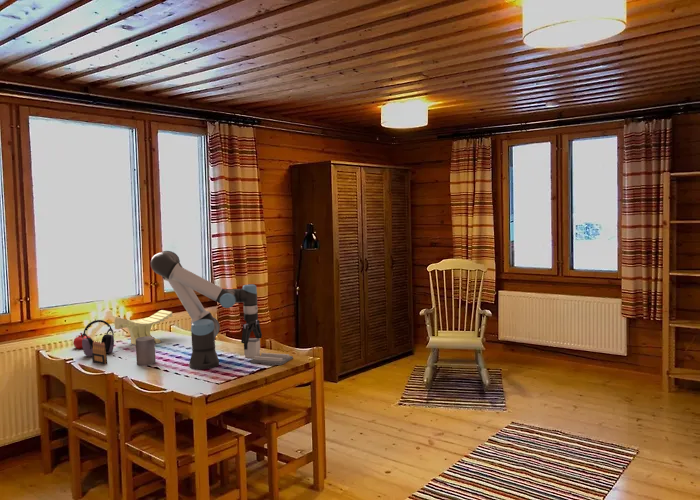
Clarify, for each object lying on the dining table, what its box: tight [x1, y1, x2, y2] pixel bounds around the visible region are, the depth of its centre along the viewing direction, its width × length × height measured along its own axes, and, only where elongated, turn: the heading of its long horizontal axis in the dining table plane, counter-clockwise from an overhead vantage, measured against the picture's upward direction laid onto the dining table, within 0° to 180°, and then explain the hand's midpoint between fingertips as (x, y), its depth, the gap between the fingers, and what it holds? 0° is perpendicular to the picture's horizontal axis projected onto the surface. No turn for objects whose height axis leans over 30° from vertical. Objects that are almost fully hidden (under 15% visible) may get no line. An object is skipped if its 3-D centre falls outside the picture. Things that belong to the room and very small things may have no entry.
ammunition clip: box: [91, 340, 108, 365], centre depth 315 cm, size 11×2×12 cm, turn 57°
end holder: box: [250, 352, 294, 366], centre depth 310 cm, size 14×18×3 cm
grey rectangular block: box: [244, 337, 261, 359], centre depth 318 cm, size 4×7×10 cm, turn 70°
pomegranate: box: [72, 332, 92, 350], centre depth 353 cm, size 10×10×9 cm
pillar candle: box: [135, 335, 157, 366], centre depth 311 cm, size 10×10×15 cm
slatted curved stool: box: [114, 309, 173, 346], centre depth 362 cm, size 30×16×18 cm, turn 137°
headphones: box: [82, 319, 115, 358], centre depth 334 cm, size 9×17×20 cm, turn 136°
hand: (252, 352), depth 319 cm, fingers open, 11 cm apart
